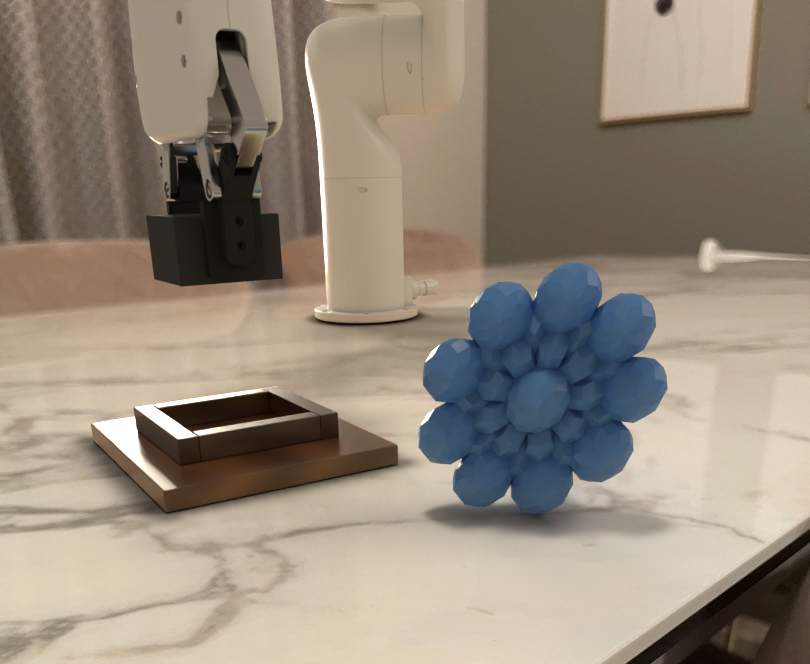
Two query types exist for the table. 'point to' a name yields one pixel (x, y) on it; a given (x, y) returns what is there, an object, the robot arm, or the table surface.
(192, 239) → the dark grey block
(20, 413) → the table surface
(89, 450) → the table surface
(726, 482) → the table surface
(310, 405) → the wooden socket base
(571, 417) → the blue flower ornament
